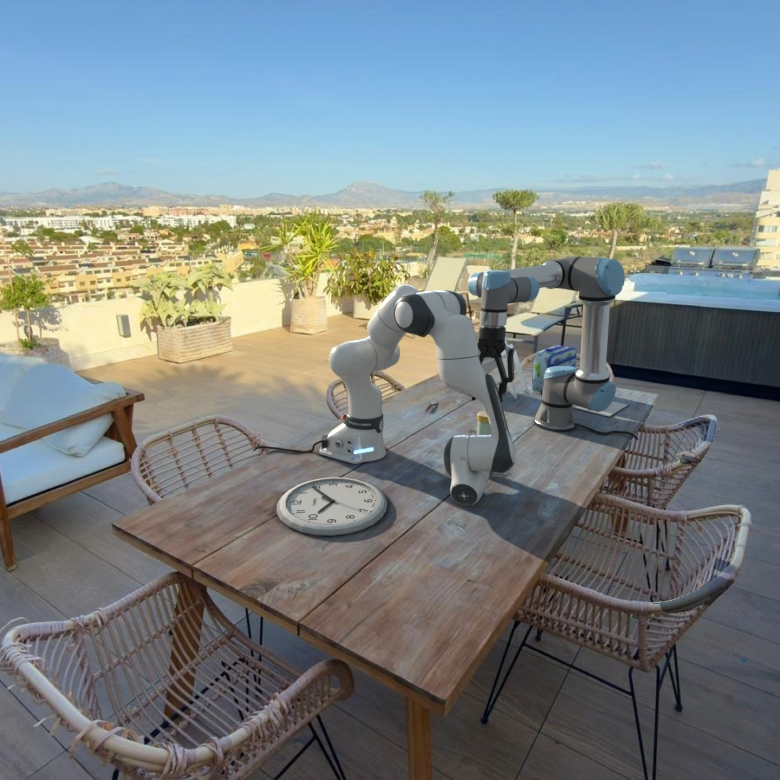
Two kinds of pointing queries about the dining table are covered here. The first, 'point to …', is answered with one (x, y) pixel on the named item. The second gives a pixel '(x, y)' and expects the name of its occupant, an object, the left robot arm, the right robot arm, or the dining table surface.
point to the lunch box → (551, 363)
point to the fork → (432, 403)
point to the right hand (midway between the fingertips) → (486, 401)
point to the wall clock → (331, 506)
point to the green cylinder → (483, 429)
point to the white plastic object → (506, 369)
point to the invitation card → (607, 409)
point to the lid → (482, 417)
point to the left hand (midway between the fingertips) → (483, 451)
